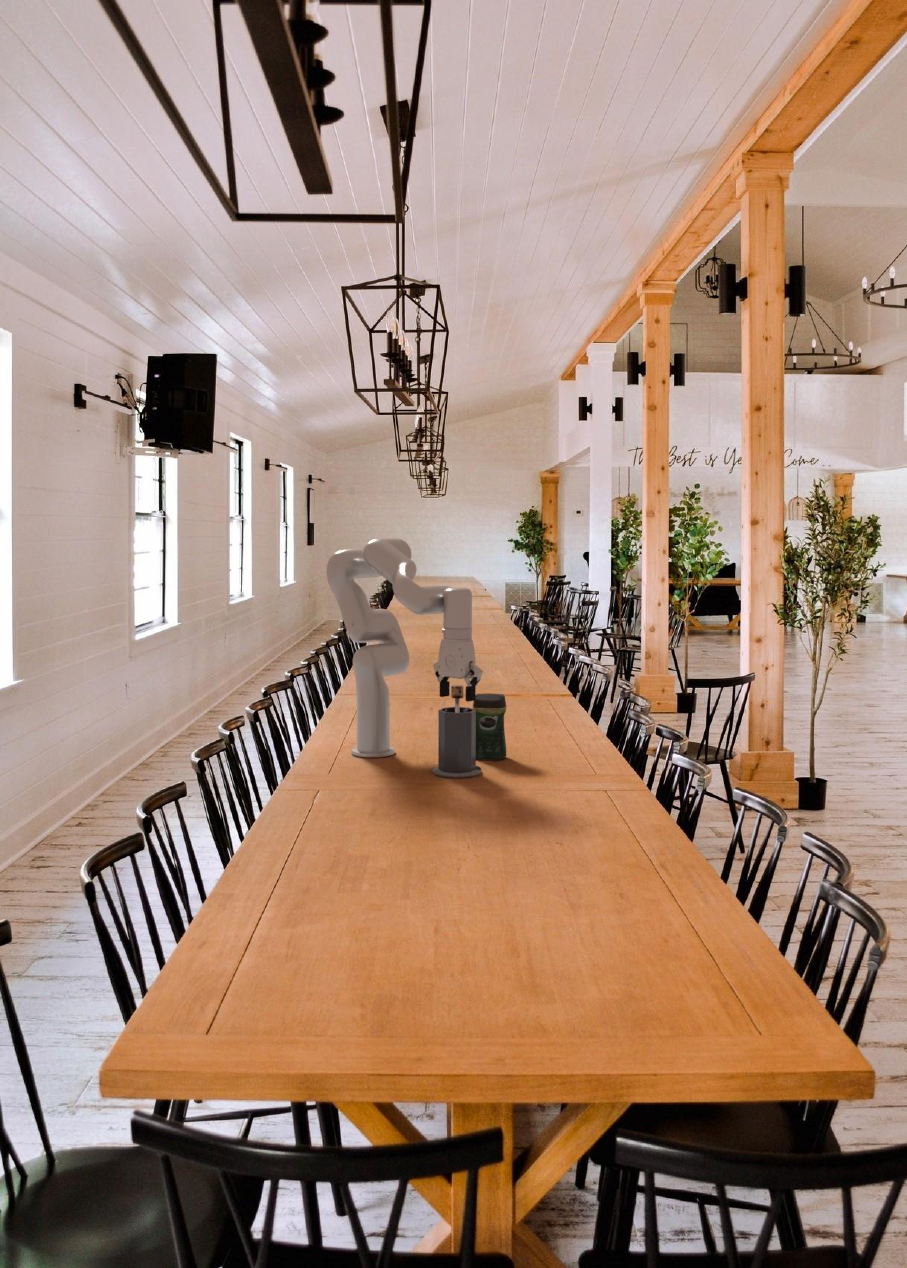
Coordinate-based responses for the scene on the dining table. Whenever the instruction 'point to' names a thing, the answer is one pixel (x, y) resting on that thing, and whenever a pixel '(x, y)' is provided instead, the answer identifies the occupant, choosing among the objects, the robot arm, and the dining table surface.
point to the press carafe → (457, 744)
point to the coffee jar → (490, 726)
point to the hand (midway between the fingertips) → (457, 698)
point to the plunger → (457, 696)
